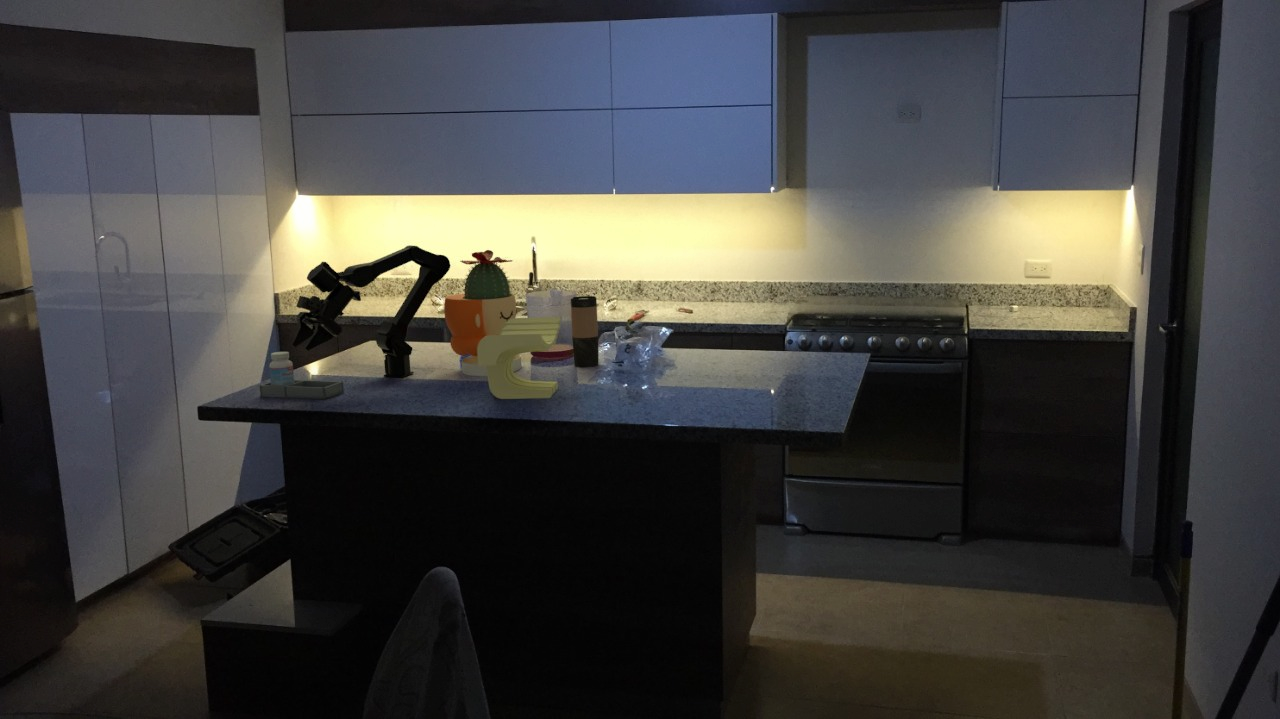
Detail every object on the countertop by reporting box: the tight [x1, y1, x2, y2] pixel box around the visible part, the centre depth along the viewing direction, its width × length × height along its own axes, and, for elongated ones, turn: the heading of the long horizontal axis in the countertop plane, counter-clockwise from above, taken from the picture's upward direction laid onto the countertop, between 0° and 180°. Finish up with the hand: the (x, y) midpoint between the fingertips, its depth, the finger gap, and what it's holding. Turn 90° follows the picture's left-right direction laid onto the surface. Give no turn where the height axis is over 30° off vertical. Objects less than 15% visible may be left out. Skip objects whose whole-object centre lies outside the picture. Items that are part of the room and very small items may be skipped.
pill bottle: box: [268, 351, 295, 386], centre depth 297 cm, size 6×6×11 cm
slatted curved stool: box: [477, 316, 562, 400], centre depth 285 cm, size 30×16×18 cm, turn 175°
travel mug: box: [570, 295, 599, 368], centre depth 323 cm, size 8×8×20 cm
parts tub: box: [259, 379, 345, 400], centre depth 295 cm, size 20×8×3 cm, turn 71°
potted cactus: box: [443, 249, 523, 377], centre depth 321 cm, size 22×22×35 cm
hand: (299, 347), depth 299 cm, fingers open, 9 cm apart
